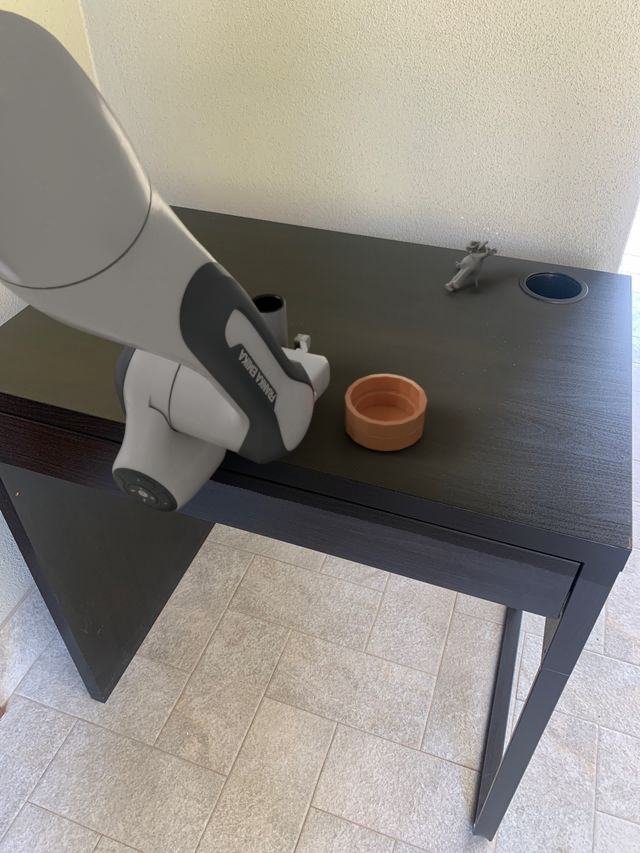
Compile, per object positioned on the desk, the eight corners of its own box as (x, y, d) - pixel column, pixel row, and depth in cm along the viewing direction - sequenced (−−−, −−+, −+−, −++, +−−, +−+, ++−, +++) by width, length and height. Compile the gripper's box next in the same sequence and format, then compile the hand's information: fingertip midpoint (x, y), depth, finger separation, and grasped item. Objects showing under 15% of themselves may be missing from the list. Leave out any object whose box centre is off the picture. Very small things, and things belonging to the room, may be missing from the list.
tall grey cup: (248, 377, 88) (241, 308, 81) (263, 358, 91) (258, 290, 84) (280, 385, 87) (275, 315, 80) (294, 365, 90) (291, 297, 83)
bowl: (394, 466, 75) (396, 436, 72) (329, 432, 80) (328, 402, 77) (438, 423, 81) (442, 393, 78) (374, 393, 85) (376, 364, 82)
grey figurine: (421, 281, 106) (453, 243, 109) (445, 309, 108) (477, 270, 111) (458, 264, 97) (492, 223, 100) (484, 295, 99) (517, 254, 101)
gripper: (304, 394, 71) (348, 326, 81) (136, 355, 77) (196, 295, 87) (306, 439, 75) (347, 368, 85) (147, 398, 81) (202, 337, 91)
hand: (270, 331), depth 86 cm, fingers open, 8 cm apart
